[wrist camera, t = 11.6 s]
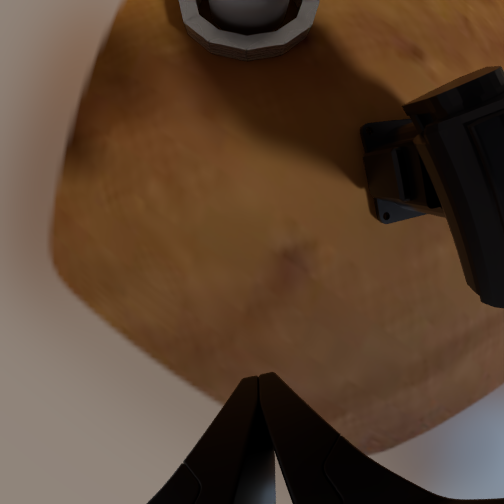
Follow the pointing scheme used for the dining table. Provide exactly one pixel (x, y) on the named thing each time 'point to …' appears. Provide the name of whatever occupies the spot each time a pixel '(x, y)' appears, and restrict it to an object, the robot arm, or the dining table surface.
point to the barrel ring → (251, 44)
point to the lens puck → (248, 15)
